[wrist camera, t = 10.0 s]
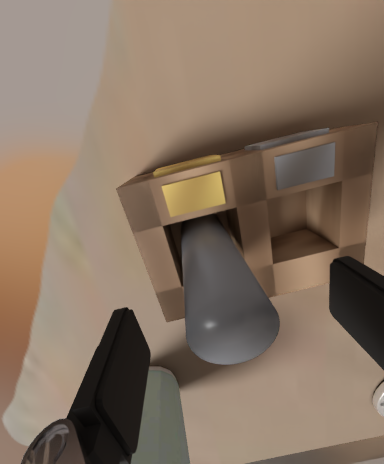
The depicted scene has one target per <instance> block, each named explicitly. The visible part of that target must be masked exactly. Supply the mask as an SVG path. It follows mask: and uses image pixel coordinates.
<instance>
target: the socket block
mask: <svg viewBox="0 0 384 464" xmlns="http://www.w3.org/2000/svg"><path fill="white" fill-rule="evenodd" d="M377 128H378V122H374V123H367V124H360V125H353V126H346V127H339V128H332V129H329V128H324V129H317V130H311V131H304V132H298V133H295V134H291V135H287V136H283V137H279V138H275V139H271V140H267V141H263V142H259V143H256V144H252V145H248V146H245V149H242V150H238V151H234V152H230V153H226V154H222V155H209V156H205V157H201V158H197V159H193V160H189V161H185V162H181V163H177V164H174V165H170V166H166V167H162V168H158V169H156V170H155V171H154V172H152V173H148V174H144V175H140V176H136V177H134V178H132V179H130V180H129V181H127V182H126V183H124V184H123V185H121V186H120V187H118V188H116V190H117V193H118V195H119V198H120V201H121V203H122V206H123V208H124V211H125V214H126V216H127V219H128V222H129V224H130V227H131V230H132V232H133V235H134V237H135V240H136V243H137V245H138V248H139V251H140V253H141V256H142V259H143V261H144V264H145V266H146V269H147V272H148V274H149V277H150V280H151V282H152V285H153V288H154V290H155V293H156V295H157V298H158V301H159V303H160V306H161V309H162V311H163V314H164V316H165V319H166V322H170V321H174V320H179V319H183V318H185V306H184V286H183V267H182V247H181V224H182V221H184V220H188V219H192V218H196V217H200V216H204V215H208V214H212V213H214V214H215V215H216V216H217V217H218V218H219V220H220V221H221V223H222V225H223V226H224V228H225V229H226V231H227V233H228V234H229V236H230V237H231V239H232V241H233V242H234V244H235V245H236V247H237V249H238V250H239V252H240V253H241V255H242V257H243V258H244V260H245V261H246V263H247V265H248V266H249V268H250V269H251V271H252V273H253V274H254V276H255V277H256V279H257V281H258V282H259V284H260V285H261V287H262V289H263V290H264V292H265V293H266V295H267V297H268V298H269V297H273V296H278V295H282V294H286V293H290V292H294V291H298V290H302V289H306V288H311V287H315V286H319V285H323V284H327V283H330V264H331V263H332V262H333V259H335V258H339V257H344V256H350V257H352V258H354V259H356V260H357V261H359V262H361V263H362V264H364V256H365V246H366V236H367V226H368V216H369V207H370V197H371V187H372V177H373V167H374V157H375V147H376V138H377Z"/></svg>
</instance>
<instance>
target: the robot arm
mask: <svg viewBox="0 0 384 464" xmlns="http://www.w3.org/2000/svg"><path fill="white" fill-rule="evenodd" d="M329 309H330V312H331V314H332V316H333V317H334V318H335V319H336V320H337V321H338V322H339V323H340V324H341V325H342V327H343V328H344V329H345V330H346V331H347V332H348V333H349V334H350V335H351V336H352V337H353V338H354V339H355V340H356V341H357V342H358V343H359V345H360V346H361V347H362V348H363V349H364V350H365V351H366V352H367V353H368V354H369V355H370V356H371V357H372V358H373V359H374V360H375V361H376V362H377V364H378V365H379V366H380V367H381V368H382V369H383V370H384V276H382V275H381V274H379V273H377V272H376V271H374V270H372V269H371V268H369V267H367V266H366V265H364V264H362V263H361V262H359V261H357V260H356V259H354V258H352V257H350V256H344V257H339V258H335V259H333V262H332V263H331V264H330V290H329ZM150 357H151V355H150V349H149V347H148V344H147V342H146V340H145V337H144V335H143V333H142V331H141V328H140V326H139V324H138V321H137V319H136V317H135V315H134V312H133V310H129V309H128V308H127V307H126V308H121V309H117V310H114V312H113V314H112V316H111V318H110V321H109V323H108V325H107V328H106V330H105V332H104V335H103V337H102V339H101V342H100V344H99V346H98V347H97V349H96V351H95V353H94V355H93V358H92V360H91V362H90V365H89V367H88V369H87V372H86V374H85V376H84V378H83V381H82V383H81V385H80V388H79V390H78V392H77V395H76V397H75V399H74V402H73V404H72V406H71V409H70V411H69V413H68V416H67V418H65V419H59V420H57V421H55V422H52V423H51V424H50V425H48V426H47V427H46V428H44V429H43V430H42V431H41V432H40V433H39V434H38V435H37V436H36V438H35V439H34V440H33V442H32V443H31V444H30V445H29V447H28V449H27V451H26V453H25V454H24V456H23V459H22V461H21V464H131V459H132V454H134V453H135V452H136V450H137V446H138V440H139V433H140V426H141V419H142V412H143V405H144V399H145V392H146V385H147V378H148V371H149V364H150ZM373 405H374V407H375V409H376V410H377V411H378V412H379V414H380V415H382V416H383V417H384V382H383V383H382V384H380V386H379V387H378V388H377V389H376V391H375V393H374V395H373ZM246 464H384V436H379V437H374V438H369V439H364V440H359V441H354V442H349V443H344V444H339V445H334V446H329V447H324V448H320V449H315V450H310V451H305V452H300V453H295V454H290V455H285V456H280V457H275V458H271V459H266V460H261V461H256V462H251V463H246Z"/></svg>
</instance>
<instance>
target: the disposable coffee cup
mask: <svg viewBox="0 0 384 464" xmlns="http://www.w3.org/2000/svg"><path fill="white" fill-rule="evenodd" d="M131 464H190V459H189V453H188V446H187V439H186V432H185V426H184V419H183V412H182V406H181V399H180V392H179V385H178V382H177V381H176V378H175V376H174V375H173V373H172V372H171V371H170V370H168V369H165V368H163V367H161V366H149V371H148V378H147V385H146V392H145V399H144V405H143V412H142V419H141V426H140V433H139V440H138V446H137V450H136V452H135V453H134V454H132V459H131Z"/></svg>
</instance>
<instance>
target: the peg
mask: <svg viewBox="0 0 384 464" xmlns="http://www.w3.org/2000/svg"><path fill="white" fill-rule="evenodd" d="M181 247H182V267H183V286H184V306H185V325H186V339H187V343H188V345H189V347H190V349H191V350H192V351H193V352H194V354H196V355H197V356H198V357H200V358H201V359H203V360H205V361H208V362H211V363H215V364H223V365H229V364H237V363H242V362H245V361H248V360H251V359H253V358H255V357H257V356H258V355H260V354H261V353H263V352H264V351H265V350H266V349H267V348H269V347H270V345H271V344H272V343H273V342H274V340H275V338H276V336H277V334H278V331H279V326H280V321H279V316H278V313H277V311H276V309H275V308H274V306H273V305H272V303H271V301H270V300H269V298H268V297H267V295H266V293H265V292H264V290H263V289H262V287H261V285H260V284H259V282H258V281H257V279H256V277H255V276H254V274H253V273H252V271H251V269H250V268H249V266H248V265H247V263H246V261H245V260H244V258H243V257H242V255H241V253H240V252H239V250H238V249H237V247H236V245H235V244H234V242H233V241H232V239H231V237H230V236H229V234H228V233H227V231H226V229H225V228H224V226H223V225H222V223H221V221H220V220H219V218H218V217H217V216H216V215H215V214H214V213H212V214H208V215H204V216H200V217H196V218H192V219H188V220H184V221H182V224H181Z"/></svg>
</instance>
